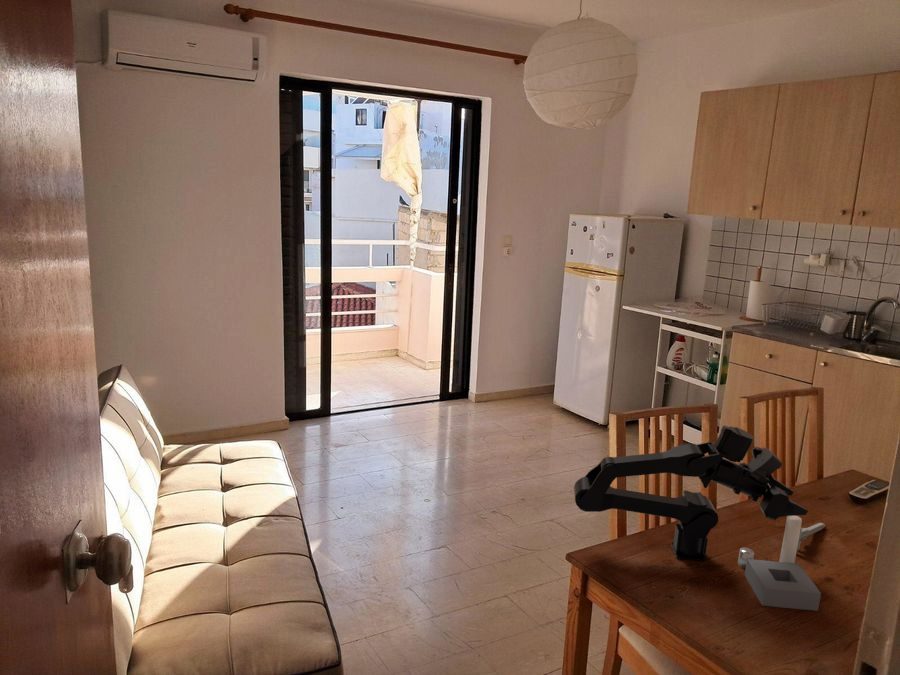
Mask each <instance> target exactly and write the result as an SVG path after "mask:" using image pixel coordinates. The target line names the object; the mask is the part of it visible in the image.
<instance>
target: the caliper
mask: <svg viewBox="0 0 900 675" xmlns="http://www.w3.org/2000/svg"><path fill="white" fill-rule="evenodd" d="M825 527H826V525H825V523H823V522H818V523H815V524H813V525H810V526H809V527H801V529H800V535H799V540H798V546H797V552H798V551H799V549H800V548H801V547H800V546H801V543H802V541H805V540H807V537H809V536H811V535H813V534H815V533H818V532H820V531H822V530H823V529H824V528H825Z"/></svg>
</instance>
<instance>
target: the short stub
mask: <svg viewBox="0 0 900 675" xmlns="http://www.w3.org/2000/svg"><path fill="white" fill-rule="evenodd" d="M754 556H755V551H754V550H753V549H751V548H749V547H740V548H739V553H738V560H737V565H738V566H739V567H741V568H743V569H746V563H747V559H752V560H754Z"/></svg>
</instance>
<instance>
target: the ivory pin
mask: <svg viewBox="0 0 900 675" xmlns="http://www.w3.org/2000/svg"><path fill="white" fill-rule="evenodd" d="M802 523H803V519H802V518H801V517H800V516H799V515H796V516H786V521H785V528H784V532H783V539H782V544H781V545H782V546H781V548H780V549H781V550H780V555H779V556H780V557H779V561H778V562H787V563H796V557H797V552H798V551H797V546H798V540H799V535H800V529H801V528H802Z"/></svg>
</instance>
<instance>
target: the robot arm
mask: <svg viewBox="0 0 900 675" xmlns="http://www.w3.org/2000/svg"><path fill="white" fill-rule="evenodd" d="M754 440H755V436H753V435H752V434H751V433H749V432H747V431H745V429H742V428H739V427H737V426H728V425H725V424H724V425H723V426H722V427H721V429H720V432H719V436H718V437H717V439H716V442H715V443H714V441H712V440H711V441H707V442H703V443H697V444H696V443H690V442H689V443H684V444H680V445H676V446H673V447H672V448H670V449H668V450H665V451H662V452H655V453H653V452H652V453H644V454H632V455H625V456H624V455H623V456H605V457H604V458H602V460H601V461H600V462H599V463H598V464H597V465H595V466H594V467H593V468H592V469H590V470H589V471H588V472H587V473H586V475H585V476H583V477H581V478H579V479H578V480H576V481H575V483H574V486H573V493H574V502H575V505H576V506H577V507H578V509H580V510H581V511H583V512H587V513H589V512H590V513H591V512H593V513H596V512H597V513H598V512H599V513H600V512H604V511H608V510H618V511H619V510H620V511H626V512H630V513H631V512H633V513H638V514H644V515H649V516H657V517H662V518H669V519H675V520H677V521H678V522H679V524H678V523H676V524H675V529H674V537H673V542H670V545H671V548H672V550H673V552H674V555H675V557H676V559H680V560H689V561H691V560H693V561H703V562H705V561H706V556H705V555H706V554H707V549H708V544H709V543H708V541H709V538H708V536H709V535H708V534H710V532H711V530H712V529H713V528H715V527H716V526H717V525H718V522H719V515H718V512H717V511H716V509H715V507H714V505H713V503H712V501H711V500H710V498H708V496H706V495H703V494H702V492H701V491H699V492H693V491H692V492H691V491H689V490H683V492H682V493H683V494H682V495H681V496H678V497H671V496H664V495H660V494H651V493H647V492H640V491H634V490H627V489H620V488H614V487H613V486H611V485H612V483H613V482H614V481H615V480H616V478H624V477H625V478H626V477H635V476H647V475H656V474H672V475H677V476H679V477H692V478H695V477H696V478H697V477H698V478H699V480H700V483H701V485H702V486H703V488H704V489H707V488H708V486H709V485H710V483H711V482H714V483H717V484H719V485H721V486H723V487H726V488H729V489H731V490H732V491H733V494H736V495H740V494H743V495H745V496H748V497H750V500H751V501H752V502H755V503H757V501H758V499H759V498H761V497H762V499H761V501H760V503H759V504H758V505H759V508H760V510H761V512H762V514H763V515H764V517H765V518H767V519H769V520H771V521H777V520H778V519H779V518H780V517H781V518H782V517H787V516H806V515H807V514H808V513H809V510H808V509H806V507H803V506H802V505H801V504H798V503H796V502H795V501H794V500H791V499H790V497H791V496H793V495H794V490H792V489H791V488H789V487H788V486H786V485H785V484H783V483H782V482H781V481H779V480H778V479H776V478H775V477H774V476H773V475H772V474H773V473H775V472H776V471H777V470H779V469H781V468H782V466H783V462H782V461H781V460H780V459H779V457H778V456H777V455H775V453H773V451H771V450H770V449H769V448H767V447H763V448H762V447H758V446H754V447H753V448H752V449H751V450H750V448H751V446H752V444H753V442H754ZM749 450H750V452H751V456H752V457H751V460H750V461H749V463H746V462H741V461H743V460H744V459H745V457H746V455H747V454H748V452H749ZM706 454H708V455H706ZM738 463H739V464H738Z"/></svg>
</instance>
